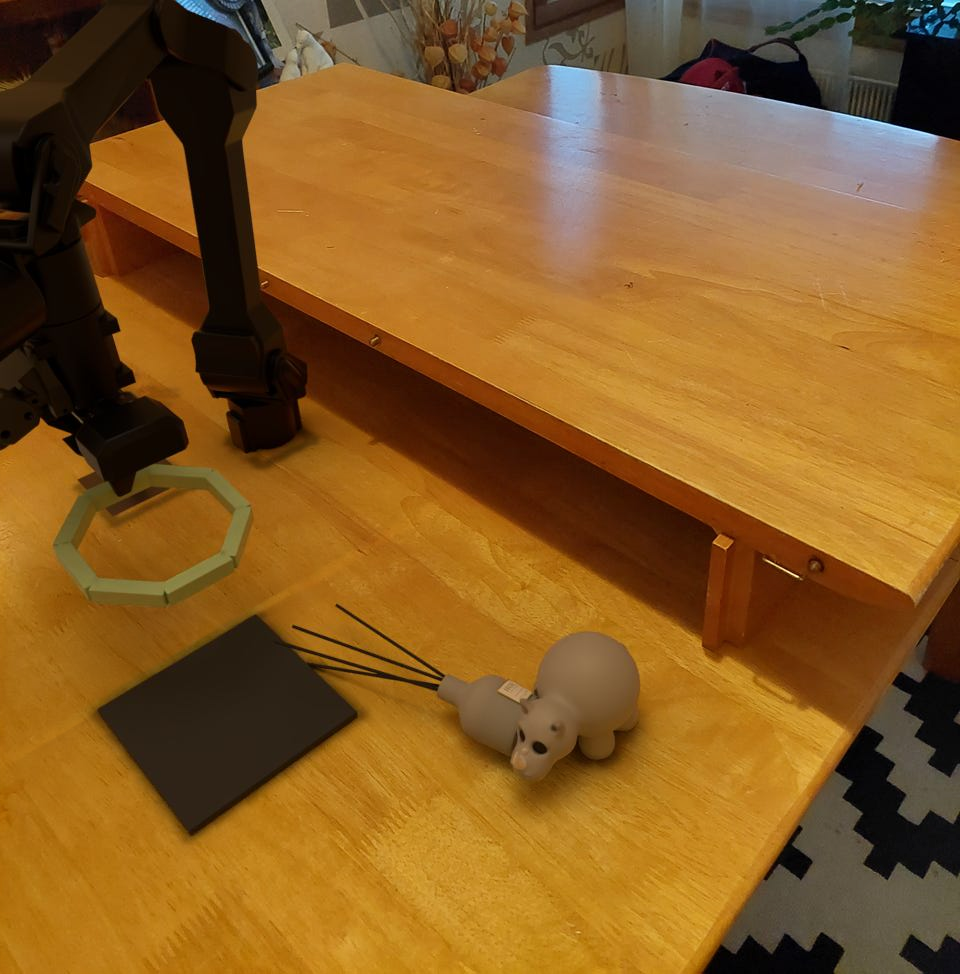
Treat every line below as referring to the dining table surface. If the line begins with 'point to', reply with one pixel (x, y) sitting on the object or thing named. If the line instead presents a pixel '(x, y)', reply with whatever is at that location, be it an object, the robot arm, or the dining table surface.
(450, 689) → the reed diffuser
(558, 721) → the round bodied animal figurine
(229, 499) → the ring
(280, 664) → the mat
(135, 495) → the stand
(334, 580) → the dining table surface
